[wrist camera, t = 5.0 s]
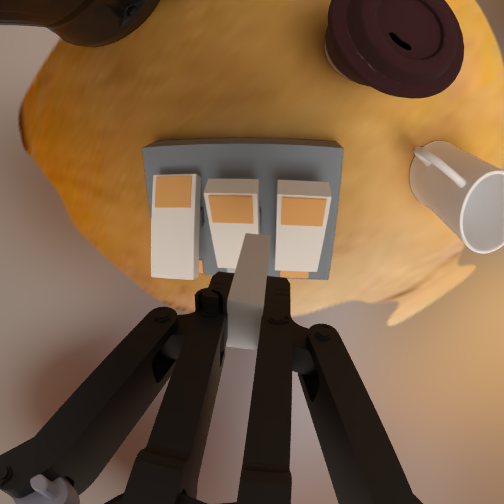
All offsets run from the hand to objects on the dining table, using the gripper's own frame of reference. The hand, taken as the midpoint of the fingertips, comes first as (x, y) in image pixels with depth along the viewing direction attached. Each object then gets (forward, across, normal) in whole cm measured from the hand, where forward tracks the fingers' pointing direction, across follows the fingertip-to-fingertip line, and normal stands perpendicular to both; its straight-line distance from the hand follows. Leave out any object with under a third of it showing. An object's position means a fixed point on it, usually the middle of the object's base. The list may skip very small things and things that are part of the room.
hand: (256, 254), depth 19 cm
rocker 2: (+11, -3, -3) cm, 12 cm away
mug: (+17, +19, +5) cm, 26 cm away
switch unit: (+17, -3, -3) cm, 18 cm away
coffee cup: (+17, +8, +16) cm, 25 cm away
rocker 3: (+10, +3, -2) cm, 11 cm away
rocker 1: (+10, -9, -3) cm, 14 cm away
